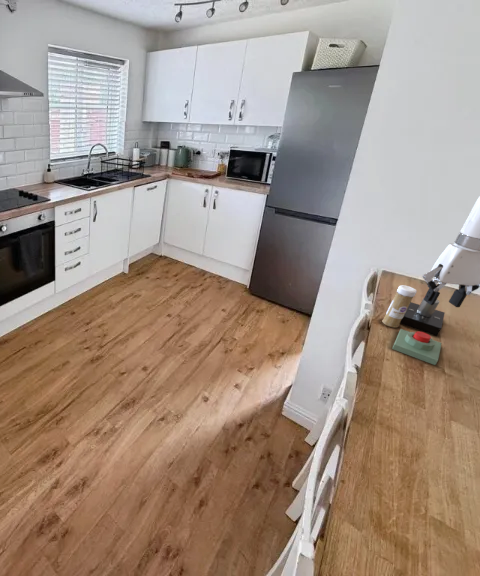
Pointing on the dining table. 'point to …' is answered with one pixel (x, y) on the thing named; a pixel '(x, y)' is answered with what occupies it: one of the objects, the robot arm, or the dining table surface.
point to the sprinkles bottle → (399, 306)
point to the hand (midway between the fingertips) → (441, 303)
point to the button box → (417, 347)
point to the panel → (423, 320)
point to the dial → (427, 308)
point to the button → (422, 337)
